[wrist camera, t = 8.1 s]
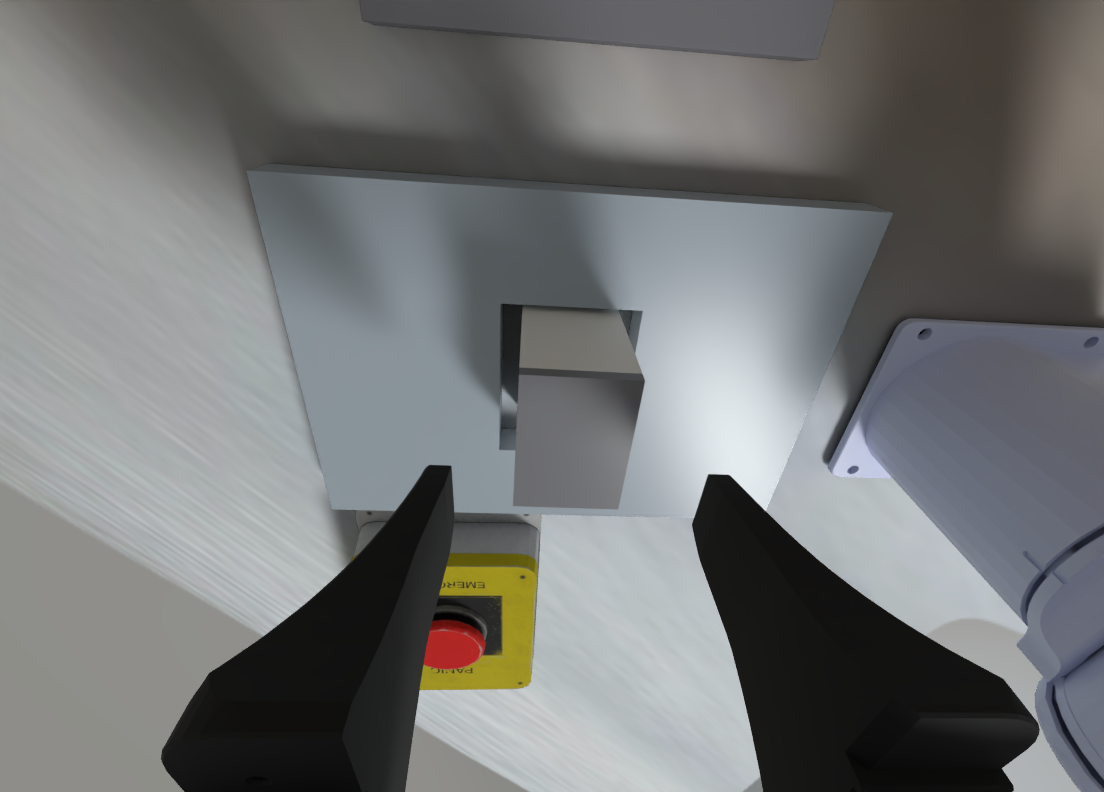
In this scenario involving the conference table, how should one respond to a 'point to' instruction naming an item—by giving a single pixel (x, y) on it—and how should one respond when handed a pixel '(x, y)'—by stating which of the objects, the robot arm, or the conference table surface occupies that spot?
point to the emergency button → (480, 601)
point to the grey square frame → (628, 22)
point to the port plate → (565, 281)
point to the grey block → (574, 407)
